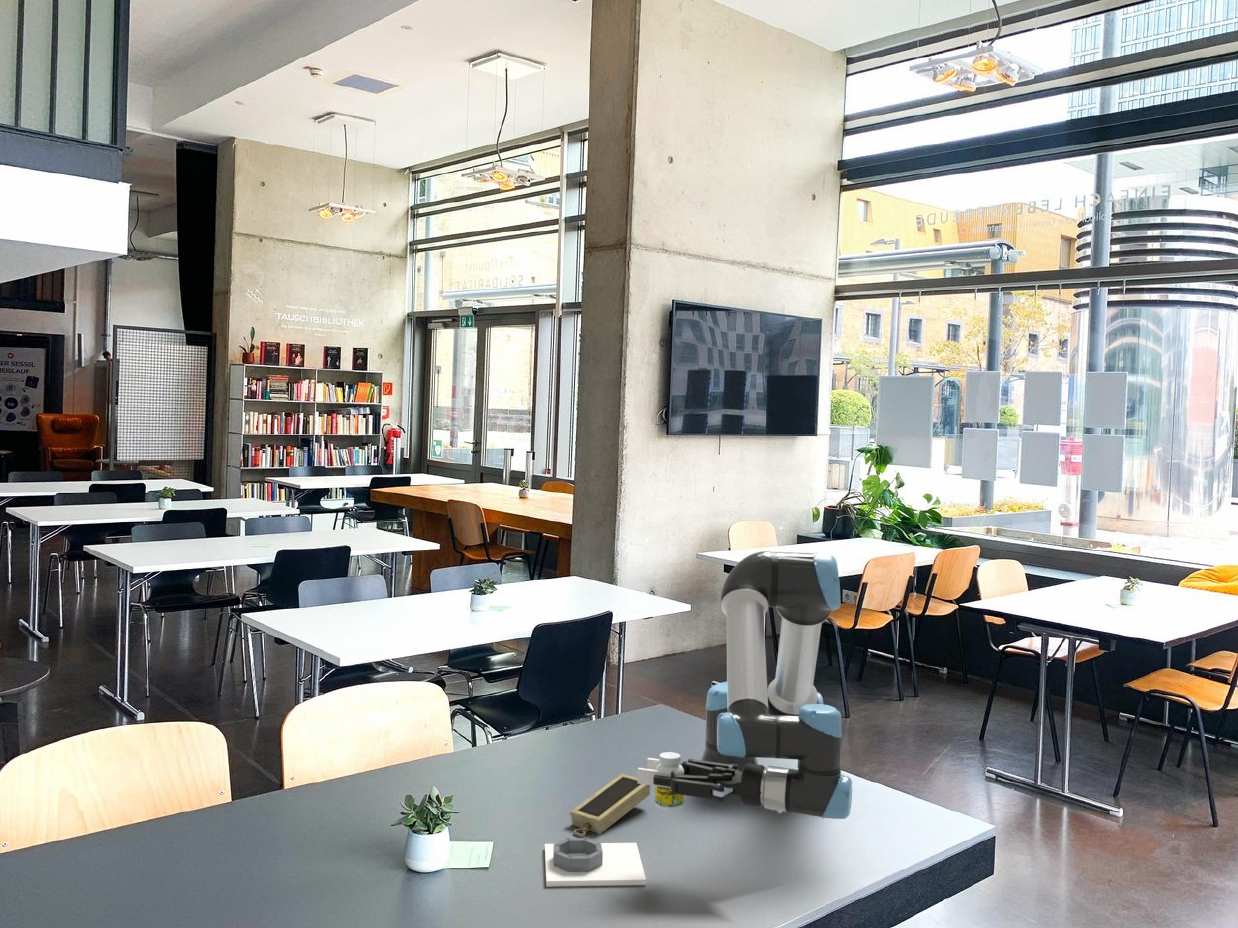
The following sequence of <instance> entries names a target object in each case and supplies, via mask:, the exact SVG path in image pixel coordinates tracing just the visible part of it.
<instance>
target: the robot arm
mask: <svg viewBox="0 0 1238 928" xmlns="http://www.w3.org/2000/svg"><path fill="white" fill-rule="evenodd" d="M840 585H841V584H840V576H839V569H838V562H837V559H836V558H835V556H834V555H831V554H829V553H820V552H819V553H818V552H815V551H814V552H787V551H785V552H784V551H770V550H768V551H766V550H763V551H758V552H754V553H751V554H749V555H748V556H746V557H744V558H743V559H741V560H740V561H739V562H738V563H736V565H734V567H733V568H732V569H731V570H730V571H729V574H728V575H727V577H726V578H725V581H724V583H723V586H722V590H721V596H720V606H721V607H720V608H721V611H722V613H723V614H724V615H725V622H726V624H725V625H726V628H725V629H726V630H725V631H726V632H725V634H726V681H723V682H720V683H715V684H714V685H712V686H711V687H710V688H709V690H708V691H707V694H706V704H705V710H706V717H705V742H704V743H705V744H704V750H703V753H702V756H701V758H700V759H694V758H688V759H687V760H685V761H681V762H680V764H679V765H681V766H682V767H683V769H684V775H674V771H671V772H667V771H660V770H656V767H657V766H658V765H659V764H661V763H660V762H659V758H653V757H652V758H651V757H647V760H646V768H644V767H638V768H637V778H638V780H637V783H639V784H646V785H650V786H653V787H654V786H660V787H667V788H670V789H671V793H672V794H679V795H684V796H689V797H697V798H703V799H711V800H715V801H718V802H724V801H725V797H733V796H735V797H736V796H738V797H739V799H740V803H741V805H742V806H744V807H750V808H755V809H756V808H757V809H760V808H763V807H764V808H765V809H766V810H770V811H771V810H772V811H776V812H777V813H778V814H781V813H783V812H786V813H794V814H800V815H804V816H806V815H807V816H811V817H818V818H821V819H834V820H845V819H847V818H848V817H849V816H850V815H851V808H852V801H853V799H852V798H853V781H852V779H851V777H850V776H848V775H844V774H842V769H841V755H842V752H841V751H842V737H843V734H842V715H841V714H842V713H841V712H840V711H839V710H838V709H837V708H836V707H834V706H831V705H828V704H824V699H823V696H822V694H821V693H820V692H818V691H817V688H816V687H815V685H814V681H815V675H816V674H815V673H816V666H817V660H818V659H817V658H818V654H819V646H820V638H821V630H822V624H823V623H824V622H826V621H827V620H828V619H829V617H830V616H831V611H832V612H833V611H836V610H839V609H840V608H841V601H842V600H841V586H840ZM769 608H776V611H777V613H778V615H779V616H780V617H781V622H780V623H781V624H780V632H779V641H778V650H777V651H778V652H777V661H776V667H775V668H776V671H775V678H774V679H773V680H772V681H771V682H770V683H769V684H768V679H767V678H768V675H767V674H768V673H767V657H766V656H767V653H766V638H765V637H766V636H765V635H766V633H765V617H764V616H765V614H767V612H768V610H769ZM758 758H763V759H765V758H766V759H780V760H781V759H782V760H797V769H795V768H789V767H781V766H775V765H768V767H765V765H763V764H759V762H758Z"/></svg>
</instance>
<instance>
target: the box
mask: <svg viewBox="0 0 1238 928" xmlns="http://www.w3.org/2000/svg"><path fill="white" fill-rule="evenodd" d="M637 780H638V777H635V776H631V775H629V774H625V773H621V774H619V775H618V776H617V777H615V778H614V779H613V780H611V781H609V782H608V783H607V784H606V785H604V786H603V787H602V788H600V789H599V790H597V791H596V792H595V793H593V794H592V795H591V796H589V797H588V798H586V800H584V801H582V802H581V803H580V804H579V805H577V806H576V807H575V808H573V809H572V810H571V811H569V815H570V816H571V817H570V818H571V825H572V826H573V827H576V828H578V829H574V830H573V834H574V835H575V836H577V837H578V838H585V837H586V834H587V833H588V832H589V831H590V832H593V833H597V834H600V835H601V834H603V832H606V830H607V829H608V828H610V827H611V826H612V825H614V824H615V823H616V822H617V821H619V819H621V818H622V817H624V816H625V815H626V814H628V813H629V812H630V811H631V810H633V809H634V808H635V807H636V806H638V805H639V804H640V803H641V802H643V801H644V800H645V799H646V798H647V797H649V796H650V795H651V785H646V784H639V783H637Z"/></svg>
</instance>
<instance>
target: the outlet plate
mask: <svg viewBox="0 0 1238 928" xmlns="http://www.w3.org/2000/svg"><path fill="white" fill-rule="evenodd" d="M544 861H545V863H544V864H545V885H546V887H548V888H549V887H598V886H599V887H601V886H603V887H604V886H605V887H606V886H607V887H608V886H612V887H613V886H646V885H647V877H646V875H645V874H646V873H645V870H644V866H643V862H642V860H641V855H640V852H639V847H638V845H637V842H604V843H603V842H597V841H596V840H593V839H590V838H587V837H578V838H577V837H576V838H575V837H574V838H573V837H572V838H571V837H570V838H565V839H563V840H560V841H558V842H555V843H544Z"/></svg>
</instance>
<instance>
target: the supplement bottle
mask: <svg viewBox="0 0 1238 928" xmlns="http://www.w3.org/2000/svg"><path fill="white" fill-rule="evenodd" d="M681 758H682V757H681V754H679V753H677V752H673V751H667V752H661V753H660V754H659V757H658V759H659V762H660V763H661V764H659V765H658V766H657V767H656V770H660V771H667V772H671V771H674V775H684V769H683V767H682V766H681V765H679V764H680V762H681V763H682V761H681ZM654 790H655V793H654V795H655V798H654V804H655V806H656V807H657V809H658V808H659V809H660V810H664V811H676V810H677V811H678V810H681V809H682V808H683V807H684V804H685V803H684V801H685V800H684V799H685V798H684V796H685V795H679V794H672V793H671V789H670V788H667V787H660V786H655V788H654Z"/></svg>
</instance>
